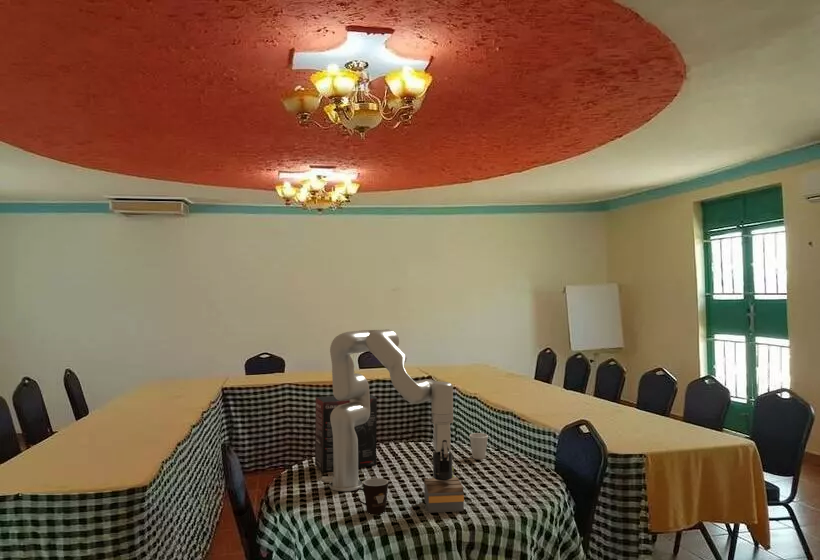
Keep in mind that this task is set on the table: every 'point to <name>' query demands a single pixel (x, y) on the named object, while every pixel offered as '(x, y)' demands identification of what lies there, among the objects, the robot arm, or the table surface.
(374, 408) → the headset box
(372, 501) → the coffee mug
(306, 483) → the table surface
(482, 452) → the dixie cup
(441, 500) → the dock
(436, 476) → the supplement bottle
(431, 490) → the pallet
